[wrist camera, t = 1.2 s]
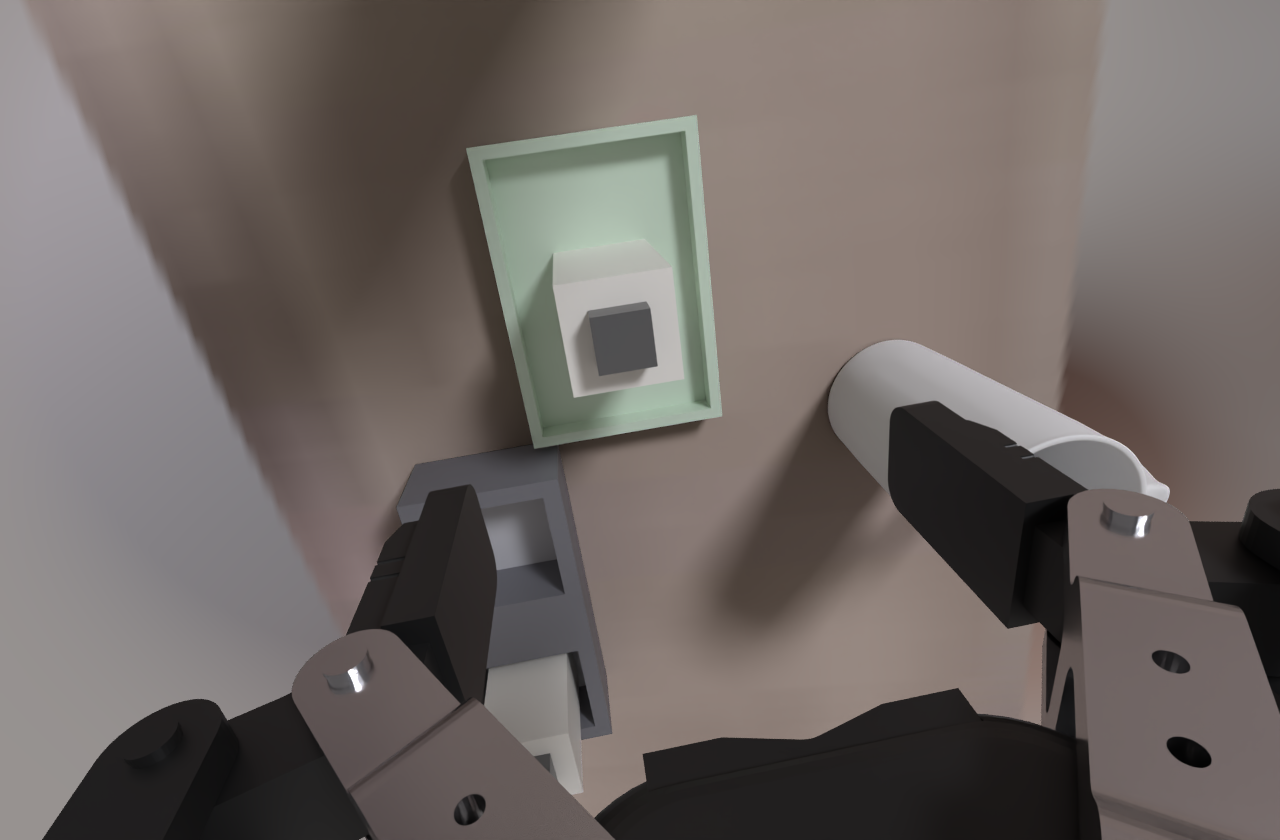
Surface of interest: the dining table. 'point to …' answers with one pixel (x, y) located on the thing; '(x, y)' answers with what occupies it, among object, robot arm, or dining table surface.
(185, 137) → the dining table surface
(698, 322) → the tray
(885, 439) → the mug
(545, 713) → the twin plug
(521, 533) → the grey rectangular frame
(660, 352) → the plug
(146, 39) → the dining table surface
